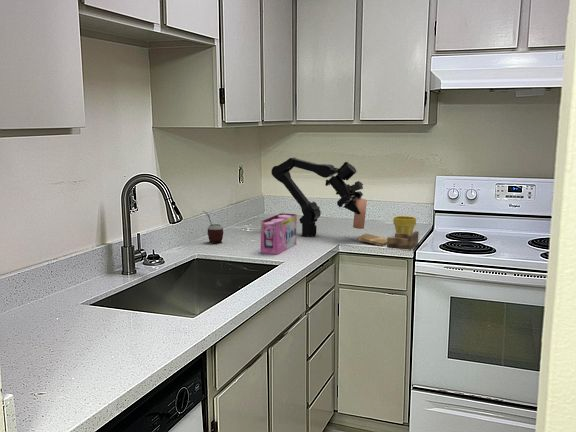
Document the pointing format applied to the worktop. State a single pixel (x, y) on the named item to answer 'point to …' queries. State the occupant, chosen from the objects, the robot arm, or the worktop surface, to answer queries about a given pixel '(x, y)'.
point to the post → (360, 218)
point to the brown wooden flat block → (373, 239)
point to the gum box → (278, 233)
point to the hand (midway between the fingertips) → (361, 213)
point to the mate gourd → (214, 232)
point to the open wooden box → (403, 241)
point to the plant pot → (404, 224)
